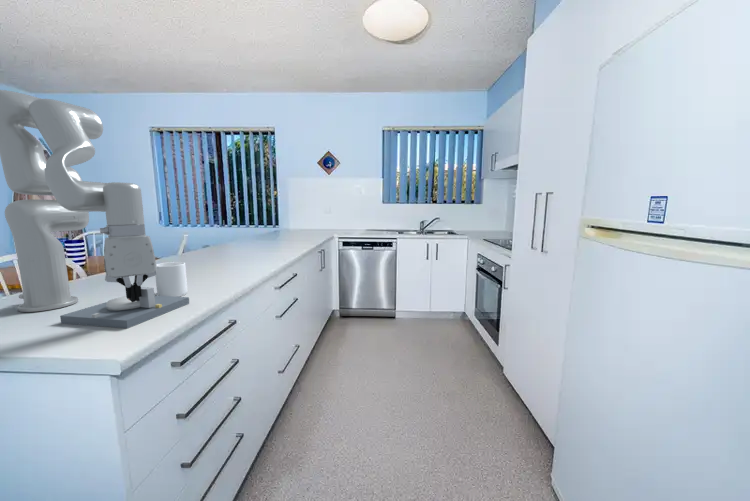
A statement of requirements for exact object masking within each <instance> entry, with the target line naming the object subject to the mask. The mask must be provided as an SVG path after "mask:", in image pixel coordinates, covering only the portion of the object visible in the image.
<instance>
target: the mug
mask: <svg viewBox="0 0 750 501" xmlns="http://www.w3.org/2000/svg"><path fill="white" fill-rule="evenodd" d="M156 273H157V274H156V275H155V276H154V277H155V285H156V294H157V295H156V296H174V297H184V296H185V295H187V294H188V279H187V268H186V262H184V261H183V262H182V261H172V262H171V261H169V262H162V263H156Z"/></svg>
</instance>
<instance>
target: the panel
mask: <svg viewBox="0 0 750 501" xmlns="http://www.w3.org/2000/svg"><path fill="white" fill-rule="evenodd" d="M154 296H155V306H154V307H151V308H144V307H139V308H134V309H128V310H117V311H115V310H108V309H107V305H106V302H107V301H105V302H103V303H99V304H96V305H92V306H89V307H84V308H82V309H78V310H75V311H72V312H69V313H66V314H64V313H63V314H62V315H60V316H59V317H60V324H65V325H66V324H68V325H81V326H92V327H94V326H95V327H104V328H105V327H106V328H115V329H116V328H117V329H119V328H120V329H129V328H132V327H134V326H137V325H139V324H142V323H145V322H147V321H149V320H152V319H154V318H157V317H159V316H162V315H164V314H166V313H169V312H172V311H174V310H177V309H179V308H181V307H182V308H183V307H184V306H186V305H189V304H190V298H189V297H188V296H180V297H174V296H158V295H155V294H154Z"/></svg>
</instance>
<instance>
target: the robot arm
mask: <svg viewBox="0 0 750 501" xmlns="http://www.w3.org/2000/svg"><path fill="white" fill-rule="evenodd" d="M25 127H27V128H32V129H37V130H38V131H39V133H40V134H41V137H42V139H44V141H45V143H46V144H47V146H48V148H49V150H50V151H51V155H50V156H49V157H48V159H46V157H45V152H44V147H43V145H42V144H41V142H40V140H38V139H37V138H36V137H35V136H34V135H33V134H32V133H31V132H30V131H28V130H27V129H26V128H25ZM103 131H104V125H103V122H102V120H101V118H100V116H99V115H98V114H97V113H96V112H94V111H93V110H92V109H90V108H86V107H83V106H80V105H77V104H72V103H68V102H65V101H61V100H56V99H53V98H52V99H51V98H40V97H37V96H34V95H29V94H26V93H22V92H18V91H12V90H6V89H0V162H1V165H2V171H3V176H4V178H5V182H6V185H7V187H8V188H9V190H11V192H14V193H16V194H20V195H28V196H29V195H30V196H51V197H52V196H53V198H54V199H36V198H35V199H31V198H29V199H20V200H19V199H17V200H15V201H12V202H10V203H8V204H7V205H6V207H5V208H4V216H5V221H6V223H7V225H8V227H9V229H10V232H11V235H12V237H13V238H12V239H13V241H14V242H13V243H14V247H15V252H16V256H17V262H18V270H19V274H20V280H21V282H20V283H21V289H22V293H20V294H19V295H18V298H19V299H23V303H21V304H19V305H17V307H16V308H17V311H18V312H21V313H34V312H36V313H37V312H42V311H43V312H44V311H50V310H51V311H52V310H56V309H60V308H64V307H65V308H66V307H68V306H72V305H74V304H76V303H78V302H79V297H77V296H74V295H71V290H70V283H69V282H70V281H69V275H68V274H69V273H68V268H67V261H66V255H65V248H64V245H63V243H62V242H61V241H60V240H59V239H58V238H57V237H56V236H54V235H53V233H57V232H58V233H59V232H69V231H70V232H72V231H74V232H75V231H80V230H83V229H85V228H87V226H88V225H89V222H90V213H89V212H92V213H93V212H96V213H98V212H99V213H101V212H103V213H104V212H105V217H106V218H105V219H106V220H105V221H106V225H105V226H104V227H99V233H100V234H104V235H107V236H108V237H105V238H104V244H103V245H104V246H103V262H104V264H103V265H104V266H103V267H104V272H105V277H104V280H105V282H107V283H118V284H120V285H122V286H124V287H125V296H126V297H127V299H129V300H130V301H131V302H135V301H140V298H139V297H141V296H142V293H141V287H142V286H143V284H144V282H145V281H147V279H149V278H153V277H155V275H156V274H157V273H156V264H157V261H156V256H155V252H154V247H153V242H152V239H151V237H150V235H146V225H145V216H144V206H143V197H142V196H143V195H142V189H141V187H140V185H138V184H137V183H133V182H132V183H131V182H120V181H119V182H115V181H114V182H113V181H112V182H111V181H110V182H101V181H84V180H83V179H82V177H81V175H80V173H79V172H78V171H77V170H76V169H74V168H73V166H77V165H81V164H84V163H86V162H88V161H90V160H91V159H93V157H94V156H95V155H96V148H95V146H94V144H93V143H92V142H91V140H97V139H99V138H100V137H101V136H102V135H103ZM132 276H134V279H133V284H132V283H131V282H132V281H131V280H130V277H132Z"/></svg>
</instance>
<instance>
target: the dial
mask: <svg viewBox="0 0 750 501" xmlns="http://www.w3.org/2000/svg"><path fill="white" fill-rule="evenodd" d="M141 293H142V296H141V297H139V298H140V301H135V302H131V301H130V300H129V299H127V297H126V295H125V296H121V297H119V296H118V297H116V298H112V299H110V300H108V301H105V302H106V305H107V309H108V310H115V311H117V310H128V309H134V308H139V307H144V308H151V307H154V306H155V296H154V295H155V289H154V287H150V286H141Z"/></svg>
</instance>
